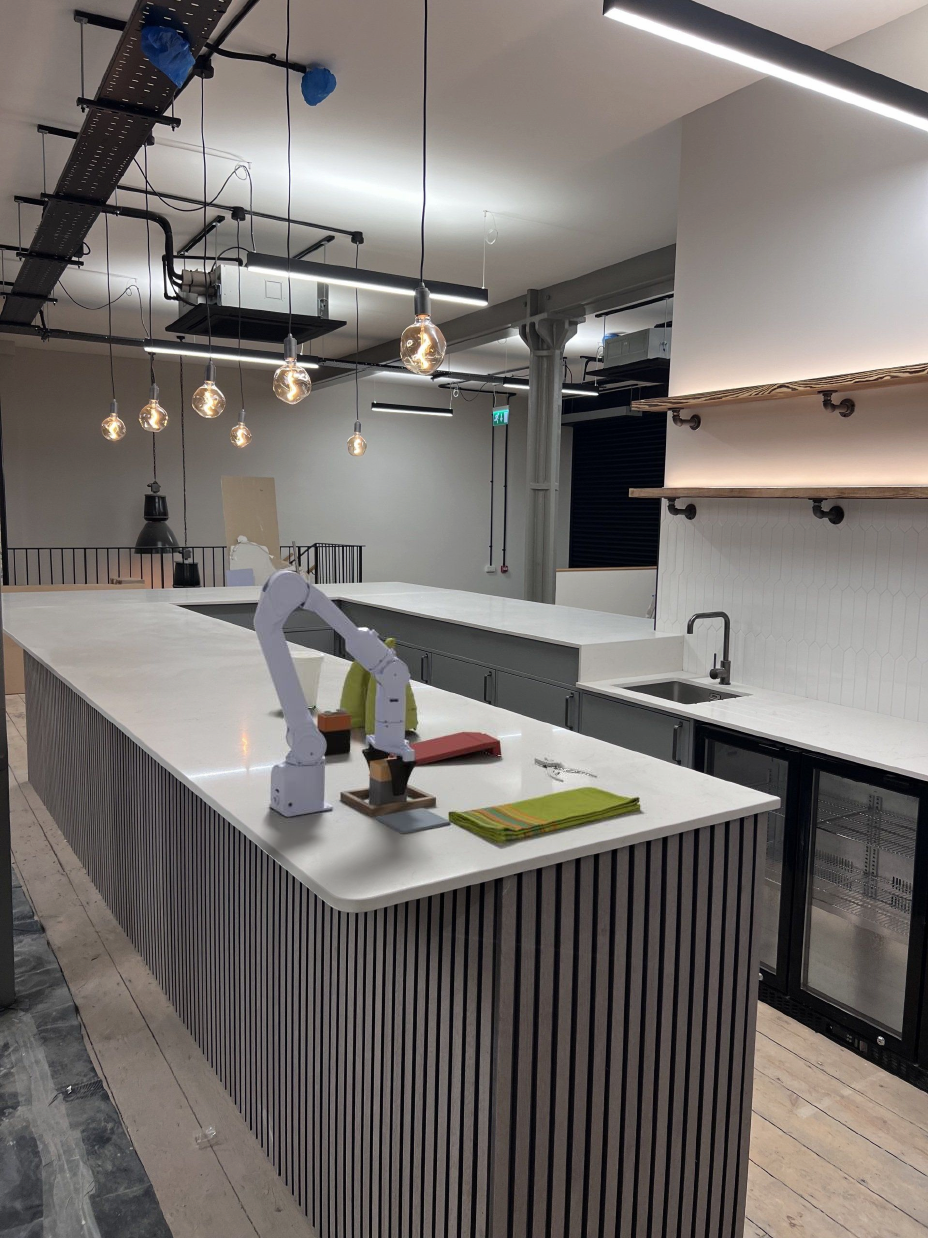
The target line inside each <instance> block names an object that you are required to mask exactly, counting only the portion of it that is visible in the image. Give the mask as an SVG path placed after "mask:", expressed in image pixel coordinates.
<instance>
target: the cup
mask: <svg viewBox="0 0 928 1238" xmlns="http://www.w3.org/2000/svg"><path fill="white" fill-rule="evenodd" d="M290 654H291V657H292V660H293V663H294V666H295V669H296V672H297V676H298V679H299V682H300V685H301V688H302V691H303V694H304V697H305V700H306V703H307V706H308V707H313V706H316V707H317V699H318V692H319V684H320V678H321V670H322V664H323V662H324V660H325V654H323V653H321V652H316V651H290Z"/></svg>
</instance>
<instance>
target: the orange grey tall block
mask: <svg viewBox="0 0 928 1238" xmlns="http://www.w3.org/2000/svg"><path fill="white" fill-rule="evenodd" d="M388 759H394V758H391V757H388ZM368 784H369V786H368V787H369V797H368V803H369V804H370V805H372V806H380V805H386V804H391V803H397V802H402V801H408V794H407V787H406V790H405V794H404V795H400V796H394V795H393V791H392V778H391V772H390V769H389V766H388V763H387V759H382V760H375V761H370V771H369V783H368Z"/></svg>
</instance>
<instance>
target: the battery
mask: <svg viewBox="0 0 928 1238" xmlns="http://www.w3.org/2000/svg"><path fill="white" fill-rule="evenodd" d="M344 711H345V709H340V708H337V709H335V711H332V710H324V712H323V713H322V712H321V713H318V714H317V721H316V722H317V723H316V724H317V725H316V726H317V727H318V730H319V732H320V733H321V734H322V735H323V736H324V738H325V740H326V744H327V747H326V752H325V754H324V756H332V755H333V756H334V755H342V754H348V753H351V739H352V737H351V732H352V730H351V729H352V728H351V715H350V714H348V713H346V712H344Z"/></svg>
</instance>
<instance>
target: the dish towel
mask: <svg viewBox="0 0 928 1238" xmlns="http://www.w3.org/2000/svg"><path fill="white" fill-rule="evenodd" d="M641 807H642V806H641V804H640V797H639V796H636V797H628V796H623V795H617V794H615V793H612V792H610V791H607V790H603V789H600V788H597V787H591V786H585V787H579V788H574V789H569V790H564V791H559V792H554V793H550V794H549V793H548V794H545V795H542V796H539V797H534V798H533V797H532V798H528V799H523V800H519V801H518V800H517V801H515V802H510V803H505V804H500V805H495V806H487V807H483V808H476V809H471V810H465V811H457V810H453V811H451V810H450V811H448V815H447V816H448V820H449V821H451V823H454V824H456V825H457V826H460V827H463V828H464V829H466V830H468V831H470V832H473V833H474V834H476V835H478V836H480V837H483V838H485V839H488V840H489V841H490V842H493V841H494V842H493V843H496V844H499V843H503V844H506V842H507V843H511V841H512V842H516V841H520V840H525V839H528V838H534V837H536V836H540V835H544V834H548V833H552V832H557V831H561V830H562V829H563V830H566V828H567V829H570V828H574V826H575V827H578V826H583V825H587V824H590V823H594V822H599V821H603V820H607V819H608V820H609V819H612V818H617V817H619V816H620V817H621V816H624V815H627V814H630V813H629V812H631V813H634V812H633V811H635V812H638V811H640V810H641ZM637 810H638V811H637ZM626 813H627V814H626ZM623 814H624V815H623Z"/></svg>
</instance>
